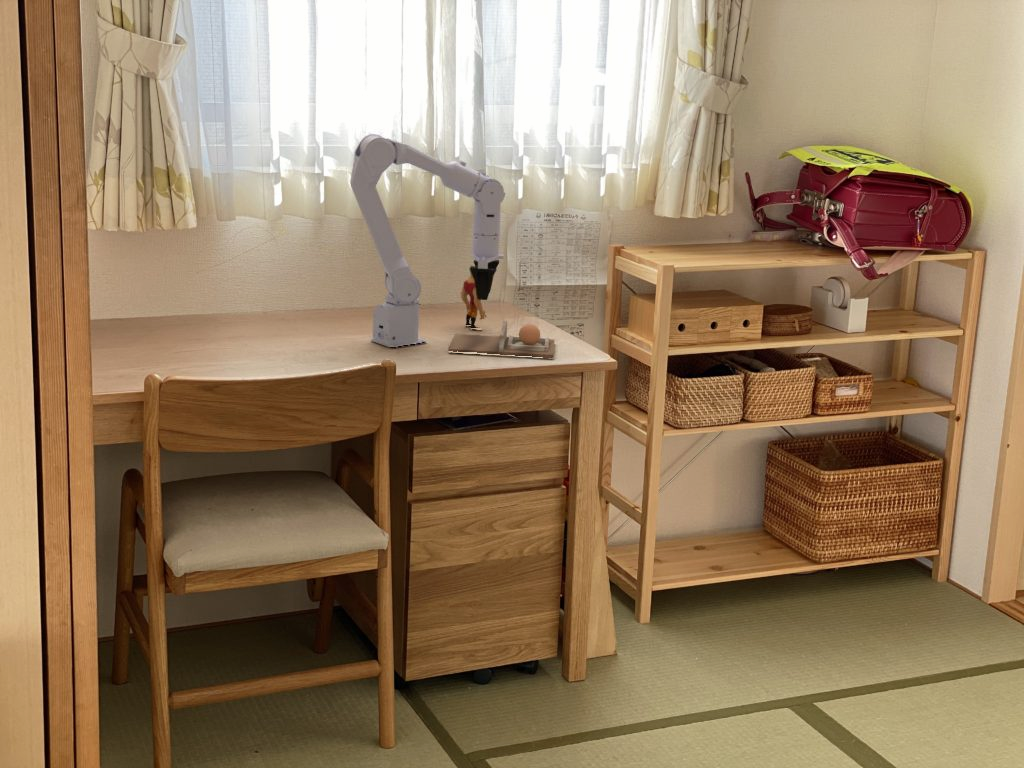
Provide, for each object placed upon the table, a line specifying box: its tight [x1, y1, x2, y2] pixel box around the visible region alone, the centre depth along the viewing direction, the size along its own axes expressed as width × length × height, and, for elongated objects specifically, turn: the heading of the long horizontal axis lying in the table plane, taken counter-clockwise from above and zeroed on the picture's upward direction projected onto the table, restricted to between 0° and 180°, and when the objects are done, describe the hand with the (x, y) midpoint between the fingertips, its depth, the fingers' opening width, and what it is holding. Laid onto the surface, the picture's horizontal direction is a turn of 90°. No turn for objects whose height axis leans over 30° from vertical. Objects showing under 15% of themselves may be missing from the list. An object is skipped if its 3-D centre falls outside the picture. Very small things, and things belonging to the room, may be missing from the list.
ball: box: [518, 323, 541, 345], centre depth 256 cm, size 5×5×5 cm
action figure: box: [460, 264, 487, 329], centre depth 272 cm, size 10×4×15 cm, turn 25°
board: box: [447, 320, 556, 359], centre depth 256 cm, size 22×14×4 cm, turn 87°
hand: (483, 296), depth 261 cm, fingers open, 7 cm apart
